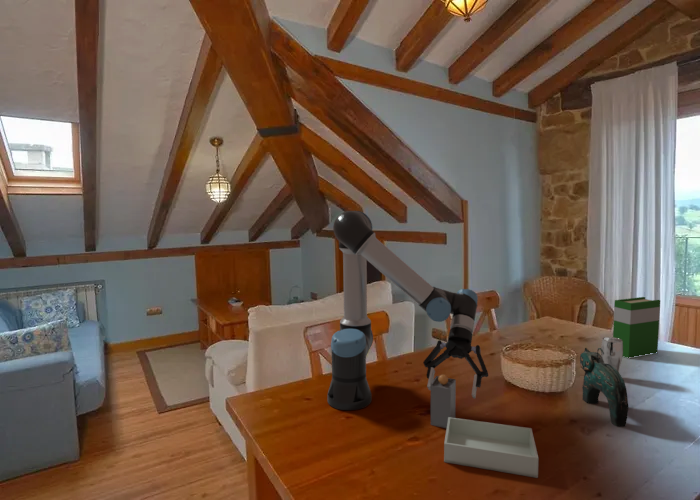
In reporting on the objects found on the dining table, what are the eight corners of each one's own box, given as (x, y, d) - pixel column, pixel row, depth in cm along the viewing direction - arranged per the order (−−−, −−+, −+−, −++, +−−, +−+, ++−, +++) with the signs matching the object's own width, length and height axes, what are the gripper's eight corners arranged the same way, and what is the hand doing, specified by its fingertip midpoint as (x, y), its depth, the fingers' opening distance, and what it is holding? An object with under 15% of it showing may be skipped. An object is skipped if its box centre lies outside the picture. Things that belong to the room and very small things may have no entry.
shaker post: (436, 415, 127) (436, 375, 126) (455, 420, 124) (455, 379, 123) (430, 424, 122) (430, 383, 121) (450, 429, 119) (450, 386, 118)
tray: (444, 461, 104) (444, 443, 103) (448, 433, 117) (448, 416, 116) (537, 477, 97) (538, 458, 96) (531, 445, 110) (531, 428, 110)
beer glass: (625, 382, 150) (627, 342, 148) (604, 381, 151) (606, 341, 150) (616, 374, 156) (618, 337, 155) (597, 373, 158) (598, 336, 156)
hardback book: (640, 348, 186) (643, 296, 184) (657, 353, 179) (660, 300, 177) (612, 353, 180) (614, 300, 178) (628, 358, 173) (631, 303, 171)
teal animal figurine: (576, 397, 138) (578, 340, 137) (595, 397, 138) (598, 340, 136) (612, 428, 119) (615, 361, 117) (634, 428, 118) (638, 361, 117)
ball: (437, 385, 121) (437, 375, 121) (438, 382, 124) (438, 372, 124) (448, 386, 120) (448, 376, 120) (448, 383, 123) (448, 373, 123)
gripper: (501, 341, 133) (494, 404, 121) (427, 332, 145) (414, 389, 133) (499, 330, 128) (492, 395, 116) (422, 321, 139) (409, 380, 128)
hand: (450, 392), depth 125 cm, fingers open, 13 cm apart
